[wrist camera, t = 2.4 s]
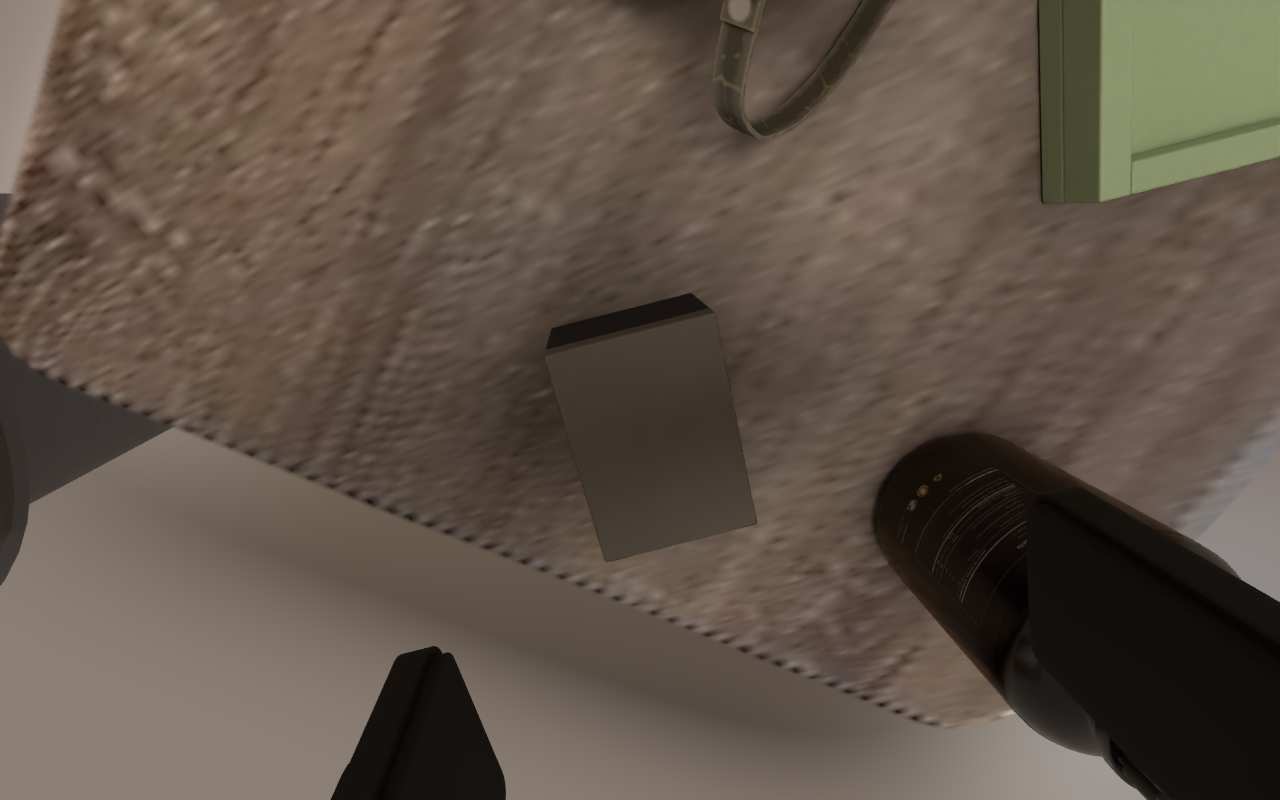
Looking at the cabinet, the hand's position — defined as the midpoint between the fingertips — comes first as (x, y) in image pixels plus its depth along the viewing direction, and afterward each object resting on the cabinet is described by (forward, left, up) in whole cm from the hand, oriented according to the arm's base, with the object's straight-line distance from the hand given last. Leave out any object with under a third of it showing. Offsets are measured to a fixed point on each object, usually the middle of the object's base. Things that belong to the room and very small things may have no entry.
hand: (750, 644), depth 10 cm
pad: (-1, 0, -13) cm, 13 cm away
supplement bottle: (+10, -8, -13) cm, 18 cm away
